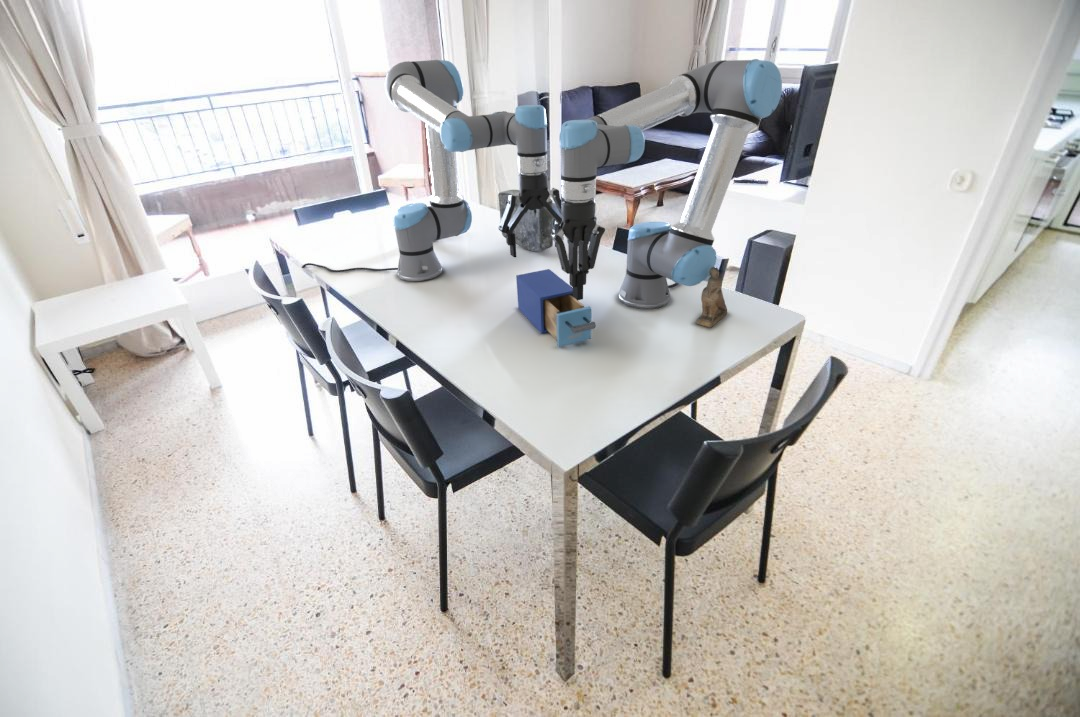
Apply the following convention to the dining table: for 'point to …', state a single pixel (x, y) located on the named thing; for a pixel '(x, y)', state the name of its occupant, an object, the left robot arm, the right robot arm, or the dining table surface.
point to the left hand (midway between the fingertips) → (536, 252)
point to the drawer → (567, 319)
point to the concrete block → (530, 224)
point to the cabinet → (539, 294)
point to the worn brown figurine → (712, 301)
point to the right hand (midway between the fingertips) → (577, 297)
